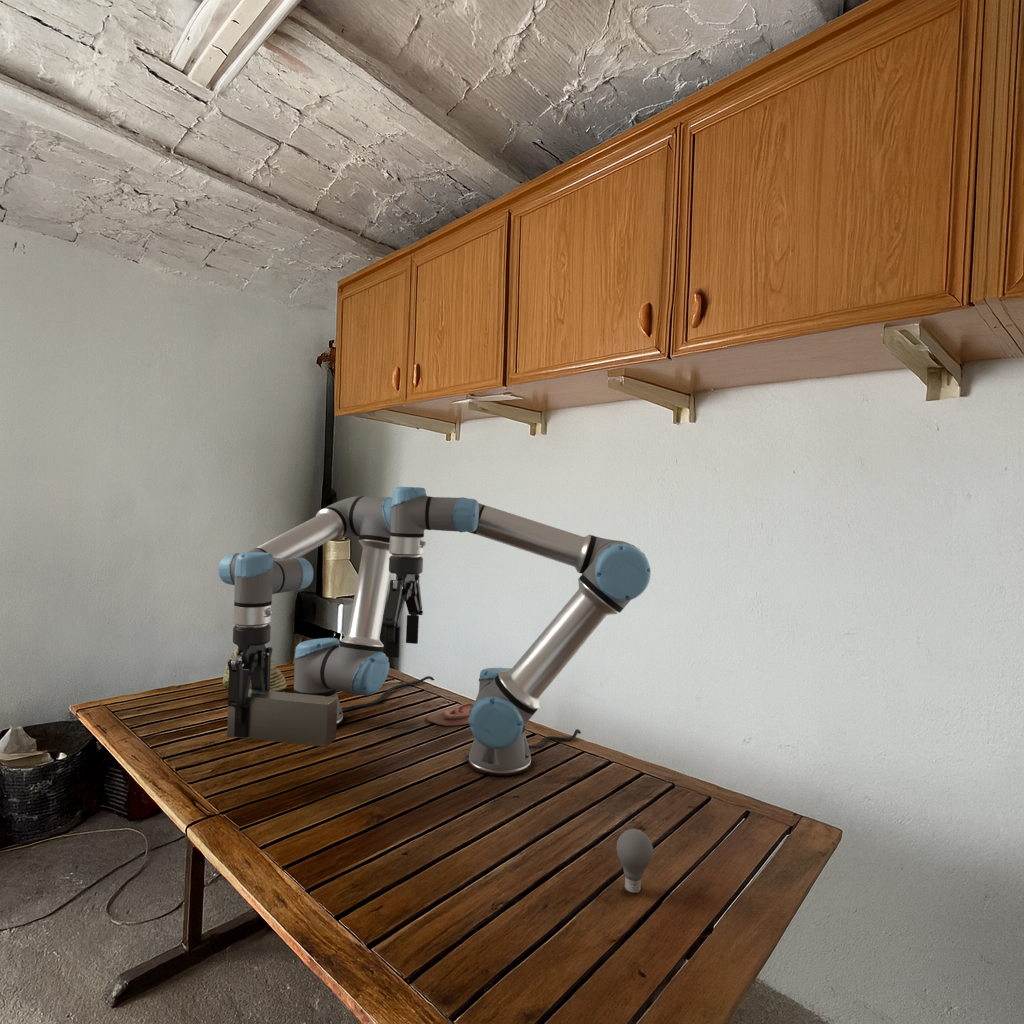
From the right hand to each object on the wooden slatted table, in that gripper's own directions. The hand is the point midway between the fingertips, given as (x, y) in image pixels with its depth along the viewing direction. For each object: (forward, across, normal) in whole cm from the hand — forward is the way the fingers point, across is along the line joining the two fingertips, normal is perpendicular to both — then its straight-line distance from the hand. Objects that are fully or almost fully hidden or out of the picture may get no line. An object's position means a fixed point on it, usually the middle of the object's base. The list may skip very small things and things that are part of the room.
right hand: (402, 649), depth 142 cm
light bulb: (+30, -30, -51) cm, 66 cm away
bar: (+18, -11, +23) cm, 31 cm away
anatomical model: (+30, +41, -2) cm, 51 cm away
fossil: (+30, +46, +62) cm, 83 cm away
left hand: (+18, -11, +30) cm, 37 cm away
